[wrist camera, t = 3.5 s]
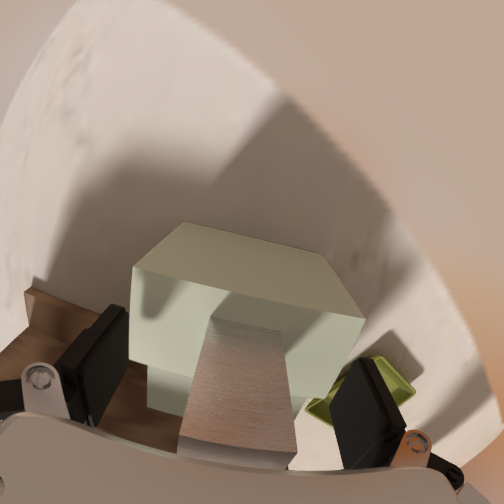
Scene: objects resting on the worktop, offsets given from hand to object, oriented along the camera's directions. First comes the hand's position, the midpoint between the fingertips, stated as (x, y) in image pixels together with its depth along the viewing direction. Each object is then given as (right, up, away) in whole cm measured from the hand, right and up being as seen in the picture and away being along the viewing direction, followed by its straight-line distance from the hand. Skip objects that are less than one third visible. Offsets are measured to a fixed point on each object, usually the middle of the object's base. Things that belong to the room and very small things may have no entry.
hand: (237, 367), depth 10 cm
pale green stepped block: (0, +1, +10) cm, 11 cm away
